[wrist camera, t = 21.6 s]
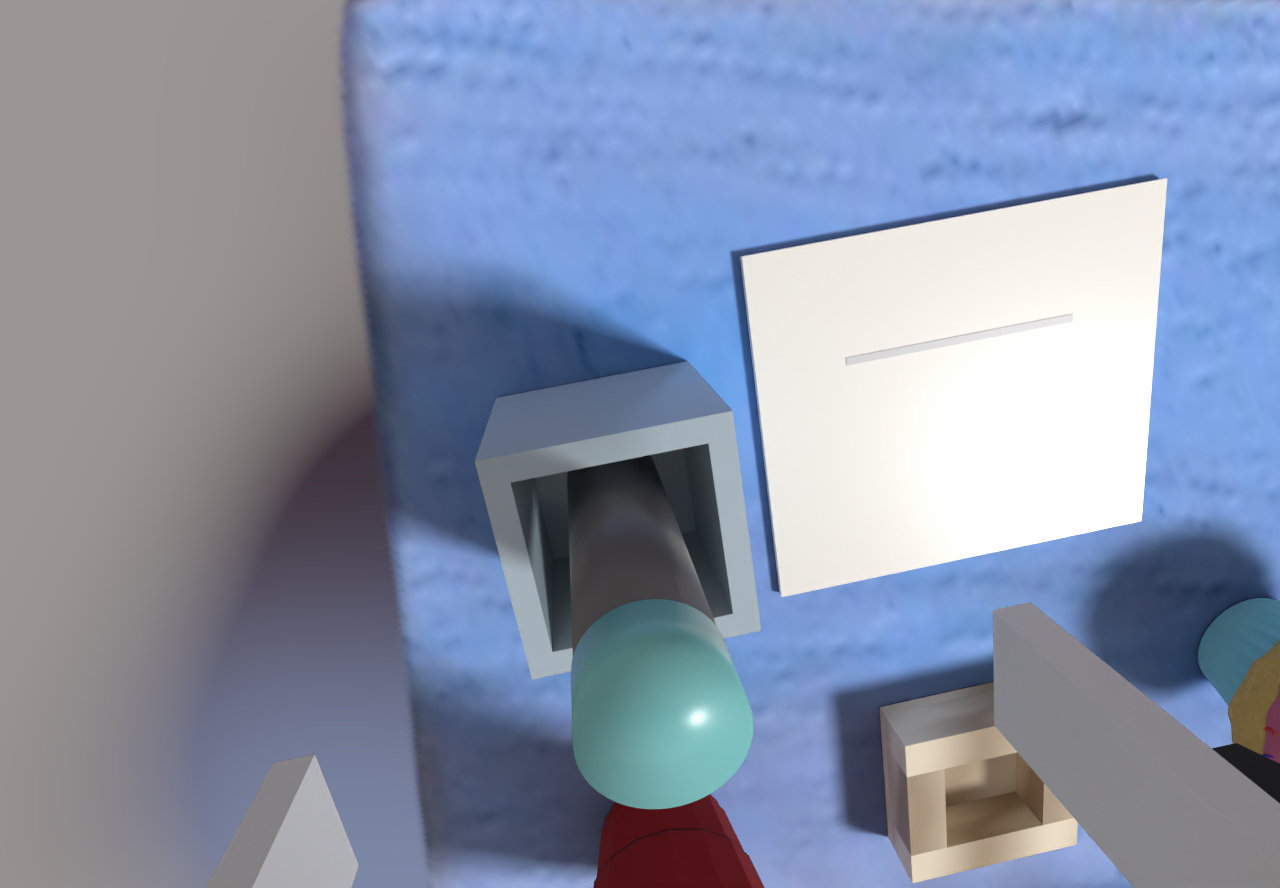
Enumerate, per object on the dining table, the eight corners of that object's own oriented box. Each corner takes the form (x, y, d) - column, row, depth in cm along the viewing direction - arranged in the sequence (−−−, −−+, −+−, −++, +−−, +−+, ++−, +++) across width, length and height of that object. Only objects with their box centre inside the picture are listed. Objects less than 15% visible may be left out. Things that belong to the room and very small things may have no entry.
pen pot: (687, 361, 26) (732, 411, 19) (713, 533, 28) (761, 630, 22) (495, 397, 26) (474, 461, 19) (538, 569, 28) (531, 679, 21)
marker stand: (1045, 670, 32) (1083, 706, 30) (1041, 802, 35) (1076, 844, 33) (879, 707, 32) (905, 746, 30) (888, 837, 35) (912, 883, 32)
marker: (620, 408, 25) (689, 625, 12) (671, 476, 26) (786, 745, 13) (547, 460, 25) (534, 728, 12) (600, 525, 26) (641, 837, 13)
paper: (1160, 178, 26) (1167, 178, 25) (1136, 518, 30) (1142, 521, 30) (739, 256, 25) (741, 256, 25) (779, 593, 29) (781, 597, 29)
